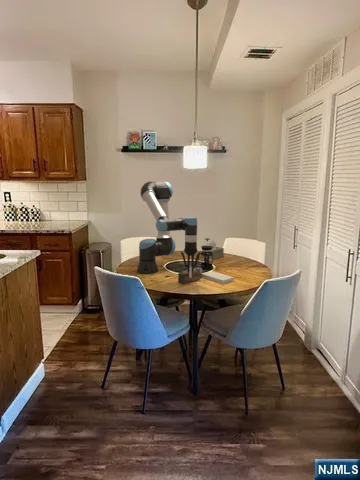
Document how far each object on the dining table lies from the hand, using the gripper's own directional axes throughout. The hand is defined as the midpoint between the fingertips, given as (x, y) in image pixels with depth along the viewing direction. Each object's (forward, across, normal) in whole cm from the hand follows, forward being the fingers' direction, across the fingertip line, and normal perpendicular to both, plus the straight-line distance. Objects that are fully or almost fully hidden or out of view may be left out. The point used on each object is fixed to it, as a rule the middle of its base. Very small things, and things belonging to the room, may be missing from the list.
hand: (190, 277), depth 208 cm
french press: (+4, -15, -36) cm, 40 cm away
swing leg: (+4, 0, -4) cm, 6 cm away
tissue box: (+4, -26, -71) cm, 75 cm away
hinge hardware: (+4, -3, -9) cm, 11 cm away
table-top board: (+4, -20, -9) cm, 22 cm away
